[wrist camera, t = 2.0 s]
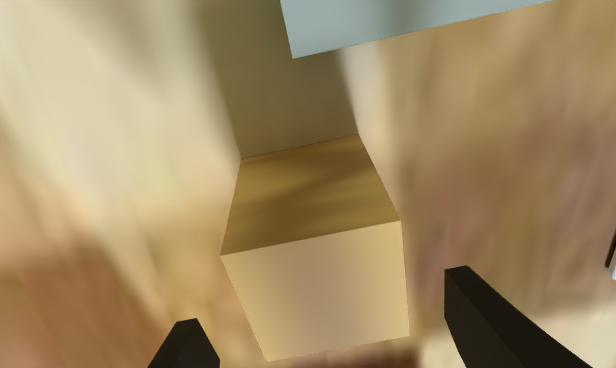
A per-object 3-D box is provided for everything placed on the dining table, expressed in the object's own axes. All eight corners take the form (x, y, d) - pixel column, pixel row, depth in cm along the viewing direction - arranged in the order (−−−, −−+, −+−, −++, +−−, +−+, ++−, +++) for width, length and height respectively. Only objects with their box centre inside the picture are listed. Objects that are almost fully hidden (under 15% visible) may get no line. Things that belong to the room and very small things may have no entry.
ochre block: (358, 134, 15) (400, 220, 9) (371, 227, 17) (409, 335, 12) (241, 158, 15) (220, 255, 10) (271, 247, 17) (266, 361, 12)
